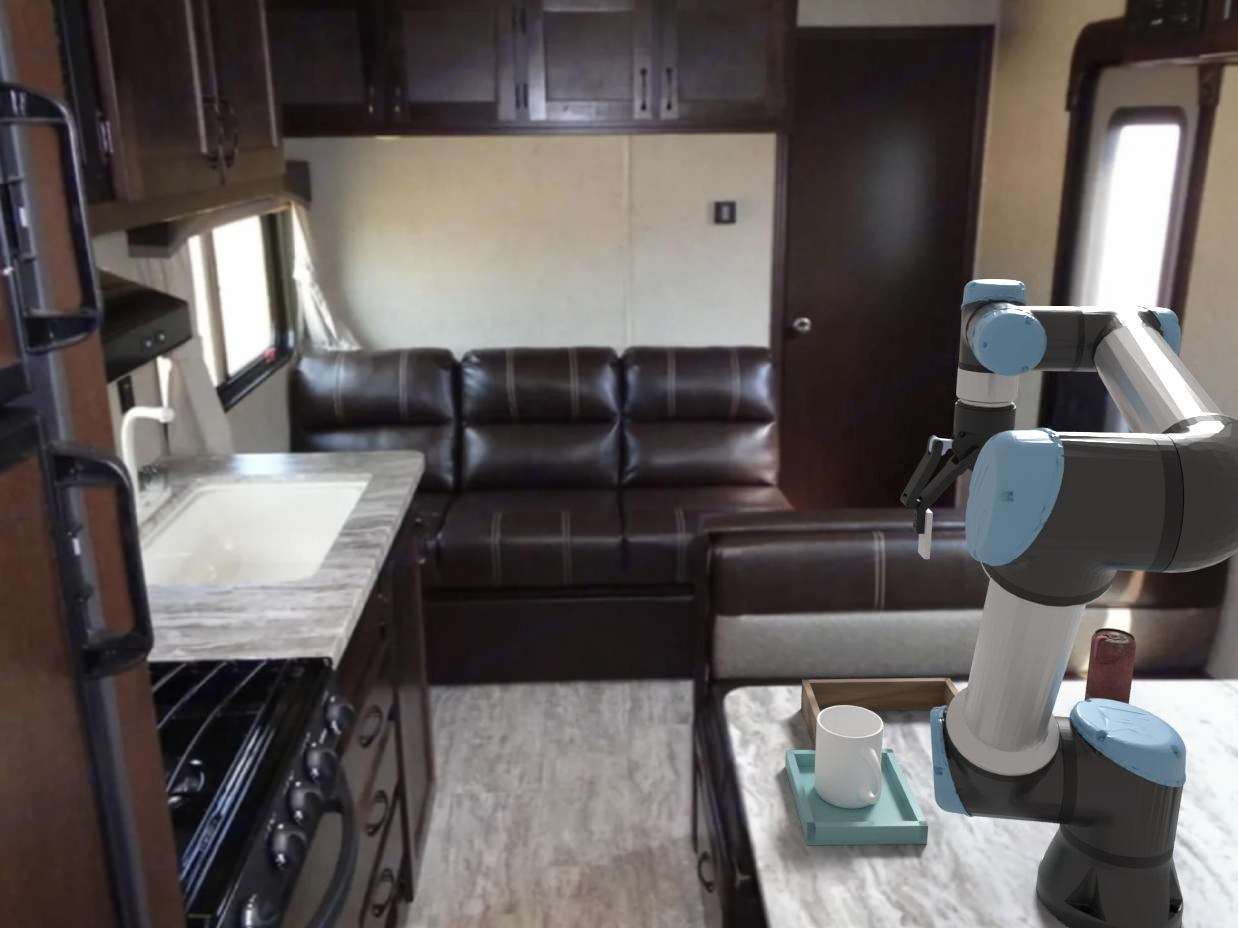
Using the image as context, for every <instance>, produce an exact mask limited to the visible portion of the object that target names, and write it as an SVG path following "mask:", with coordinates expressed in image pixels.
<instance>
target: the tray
mask: <svg viewBox="0 0 1238 928" xmlns="http://www.w3.org/2000/svg"><path fill="white" fill-rule="evenodd" d="M815 752H816V750H815V749H786V750H785V755H784V756H785V759H784V763H785V764H784V767H785V771H786V774H787V778H788V782H789V786H790V788H791V793H792V796H793V800H794V804H795V807H796V810H797V814H798V817H799V821H800V825H801V828H802V832H803V836H804V839H805V842H806V845H807V846H843V845H845V846H850V845H851V846H853V845H854V846H855V845H862V846H863V845H922V844H923V845H925V844H926V845H927V844H928V834H929V824H928V823H927V820H926V818H925V816H924V814H923V811H922V809H921V807H920V805H919V802H918V800H917V799H916V797H915V795H914V792H913V791H912V788H911V786H910V784H909V782H908V780H907V778H906V776H905V774H904V771H903V769H902V767H901V765H900V763H899V761H898V759H897V757H896V754H895V752H894V751H893V748H882V758H881V773H882V790H881V796H880V799H879V801H878V802H877V803H875V804H872V805H871V804H870V805H868V806H866V807H863V808H857V809H847V808H841V807H837V806H834V805H831V804H829V803H827V802H826V801H824V800H823V799H822V798H821V797H820V796H819V795H818V793H817V792H816V789H815V781H814V780H815Z"/></svg>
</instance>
